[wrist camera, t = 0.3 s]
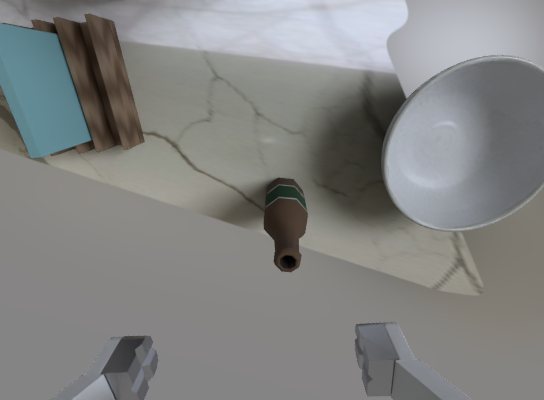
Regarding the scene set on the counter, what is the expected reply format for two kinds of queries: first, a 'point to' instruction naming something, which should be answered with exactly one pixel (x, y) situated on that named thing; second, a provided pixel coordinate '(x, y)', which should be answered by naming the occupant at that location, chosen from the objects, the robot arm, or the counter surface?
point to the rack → (98, 81)
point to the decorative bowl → (468, 144)
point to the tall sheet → (40, 91)
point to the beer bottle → (285, 221)
